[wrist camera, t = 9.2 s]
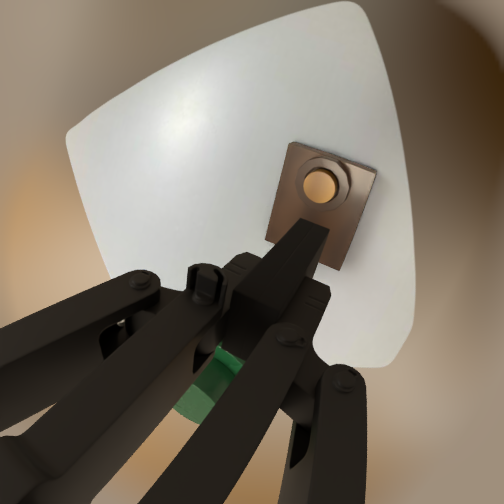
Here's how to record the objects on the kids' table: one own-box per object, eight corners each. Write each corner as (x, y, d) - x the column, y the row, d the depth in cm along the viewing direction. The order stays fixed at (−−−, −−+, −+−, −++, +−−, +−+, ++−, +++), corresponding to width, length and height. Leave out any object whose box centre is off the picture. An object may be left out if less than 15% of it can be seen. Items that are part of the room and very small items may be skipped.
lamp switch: (341, 175, 36) (339, 178, 35) (332, 204, 38) (329, 208, 37) (311, 164, 37) (308, 166, 36) (303, 193, 39) (299, 196, 38)
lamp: (340, 239, 39) (251, 403, 18) (319, 292, 44) (231, 450, 22) (278, 214, 42) (137, 337, 20) (263, 268, 47) (145, 399, 25)
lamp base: (377, 170, 37) (375, 176, 34) (342, 264, 45) (336, 277, 42) (293, 141, 41) (284, 144, 37) (270, 234, 48) (259, 244, 45)
